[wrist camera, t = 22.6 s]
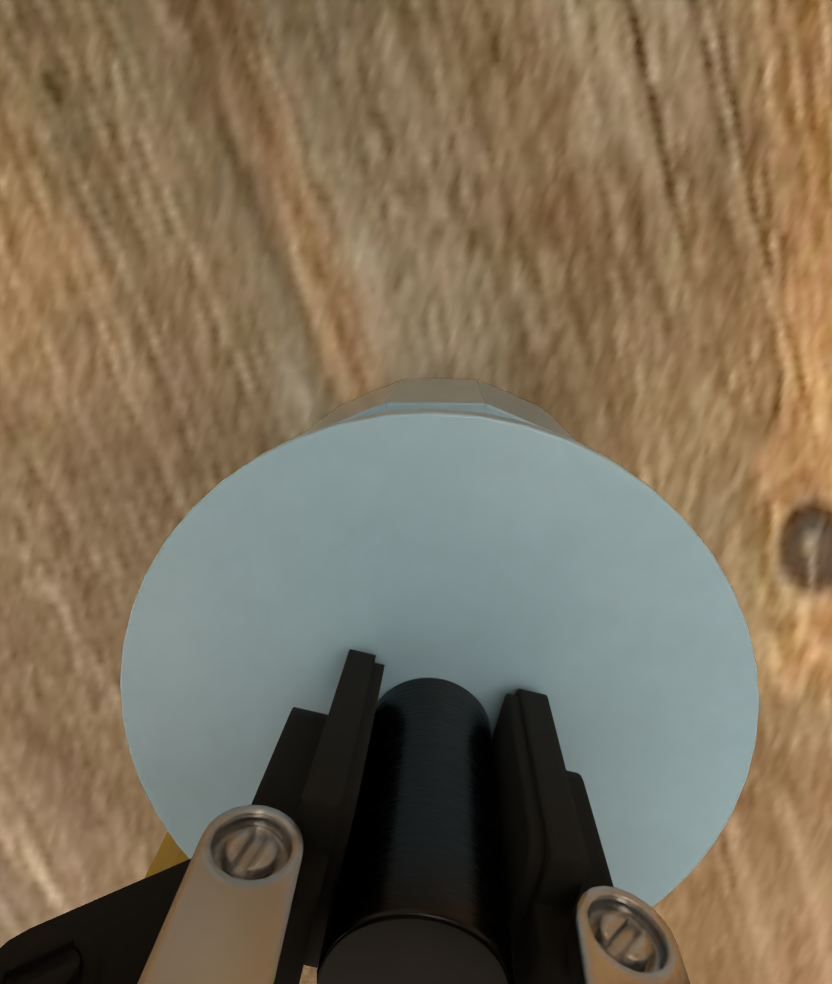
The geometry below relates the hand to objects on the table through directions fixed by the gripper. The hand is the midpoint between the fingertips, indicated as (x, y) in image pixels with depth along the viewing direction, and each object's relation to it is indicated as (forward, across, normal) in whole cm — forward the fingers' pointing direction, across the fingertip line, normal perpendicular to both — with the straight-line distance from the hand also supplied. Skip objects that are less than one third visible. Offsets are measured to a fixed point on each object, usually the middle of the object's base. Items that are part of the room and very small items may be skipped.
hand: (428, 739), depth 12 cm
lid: (+1, 0, 0) cm, 1 cm away
